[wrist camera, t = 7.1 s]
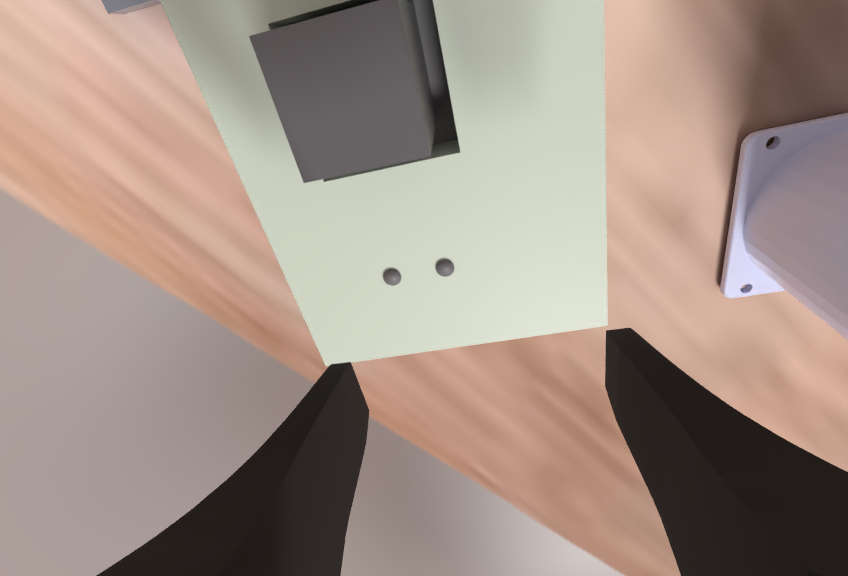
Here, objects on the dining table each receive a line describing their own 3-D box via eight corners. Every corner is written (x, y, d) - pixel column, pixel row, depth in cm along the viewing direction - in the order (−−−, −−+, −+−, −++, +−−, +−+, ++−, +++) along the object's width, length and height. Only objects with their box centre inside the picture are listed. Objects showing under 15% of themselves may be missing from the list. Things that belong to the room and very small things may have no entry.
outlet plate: (577, -192, 13) (602, -234, 11) (592, 296, 22) (608, 327, 20) (172, -57, 15) (125, -71, 13) (336, 336, 24) (325, 367, 22)
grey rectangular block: (414, 3, 16) (397, -5, 11) (436, 118, 18) (431, 158, 13) (311, 31, 16) (249, 35, 11) (344, 139, 18) (304, 184, 13)
